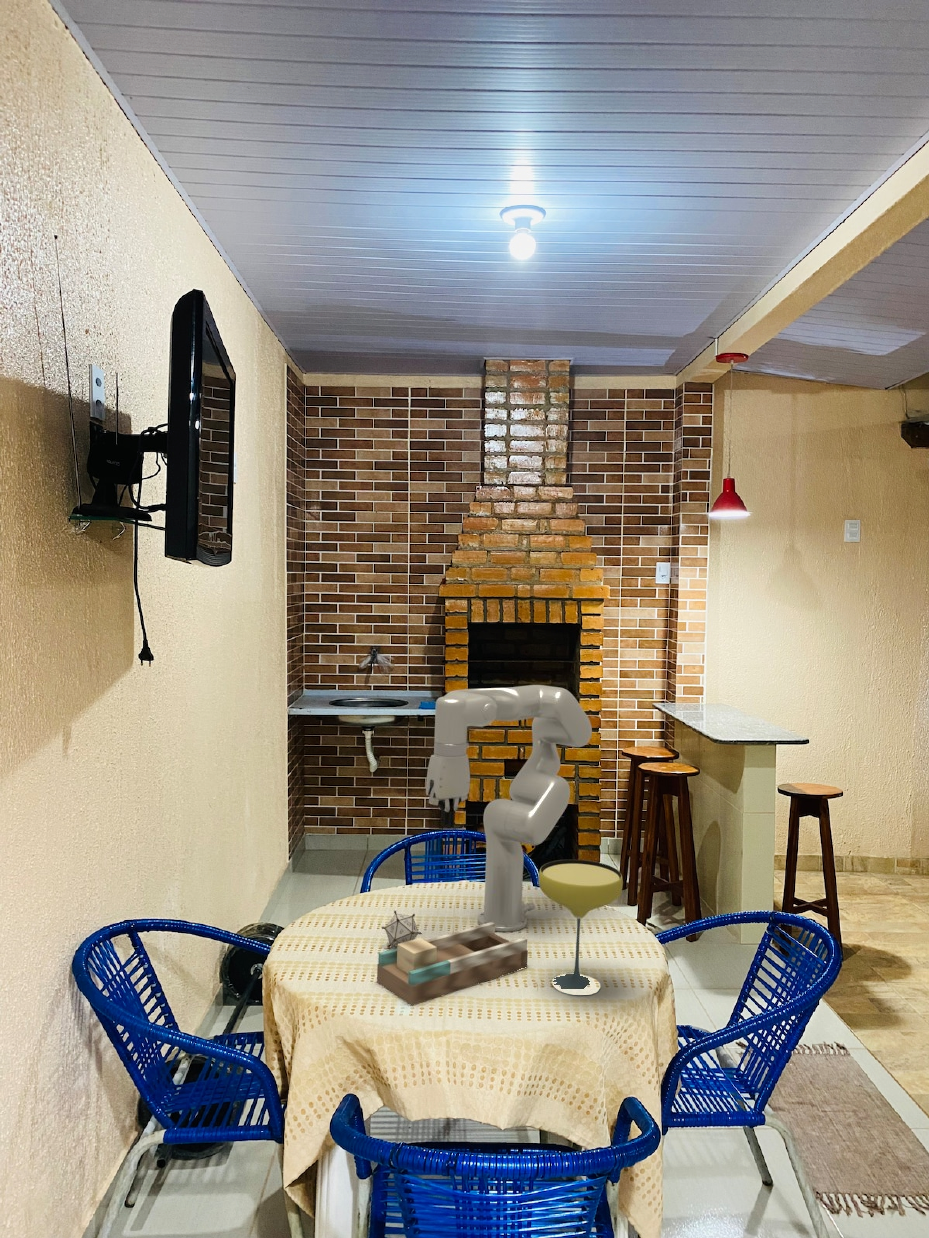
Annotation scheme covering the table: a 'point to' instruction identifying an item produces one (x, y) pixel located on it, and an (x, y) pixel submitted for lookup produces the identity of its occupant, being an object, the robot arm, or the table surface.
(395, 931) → the game die
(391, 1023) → the table surface
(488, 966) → the trap deck
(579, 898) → the cocktail glass
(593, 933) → the table surface
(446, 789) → the robot arm
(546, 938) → the table surface
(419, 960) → the maple block
